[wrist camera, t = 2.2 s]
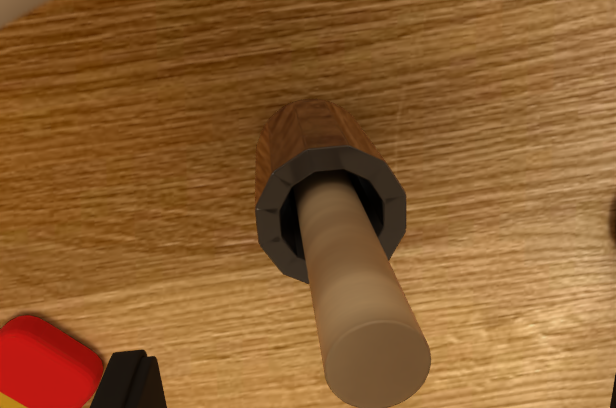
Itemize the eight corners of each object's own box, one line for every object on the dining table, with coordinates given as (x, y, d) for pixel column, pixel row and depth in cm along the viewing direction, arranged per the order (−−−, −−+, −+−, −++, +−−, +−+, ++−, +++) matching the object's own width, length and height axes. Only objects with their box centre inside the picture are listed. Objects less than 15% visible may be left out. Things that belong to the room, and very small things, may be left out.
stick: (280, 167, 25) (306, 391, 11) (301, 124, 25) (356, 305, 11) (322, 185, 26) (398, 423, 12) (344, 144, 25) (452, 343, 11)
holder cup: (239, 177, 26) (232, 254, 18) (285, 79, 24) (296, 120, 17) (334, 217, 27) (363, 305, 20) (383, 126, 25) (434, 184, 18)
